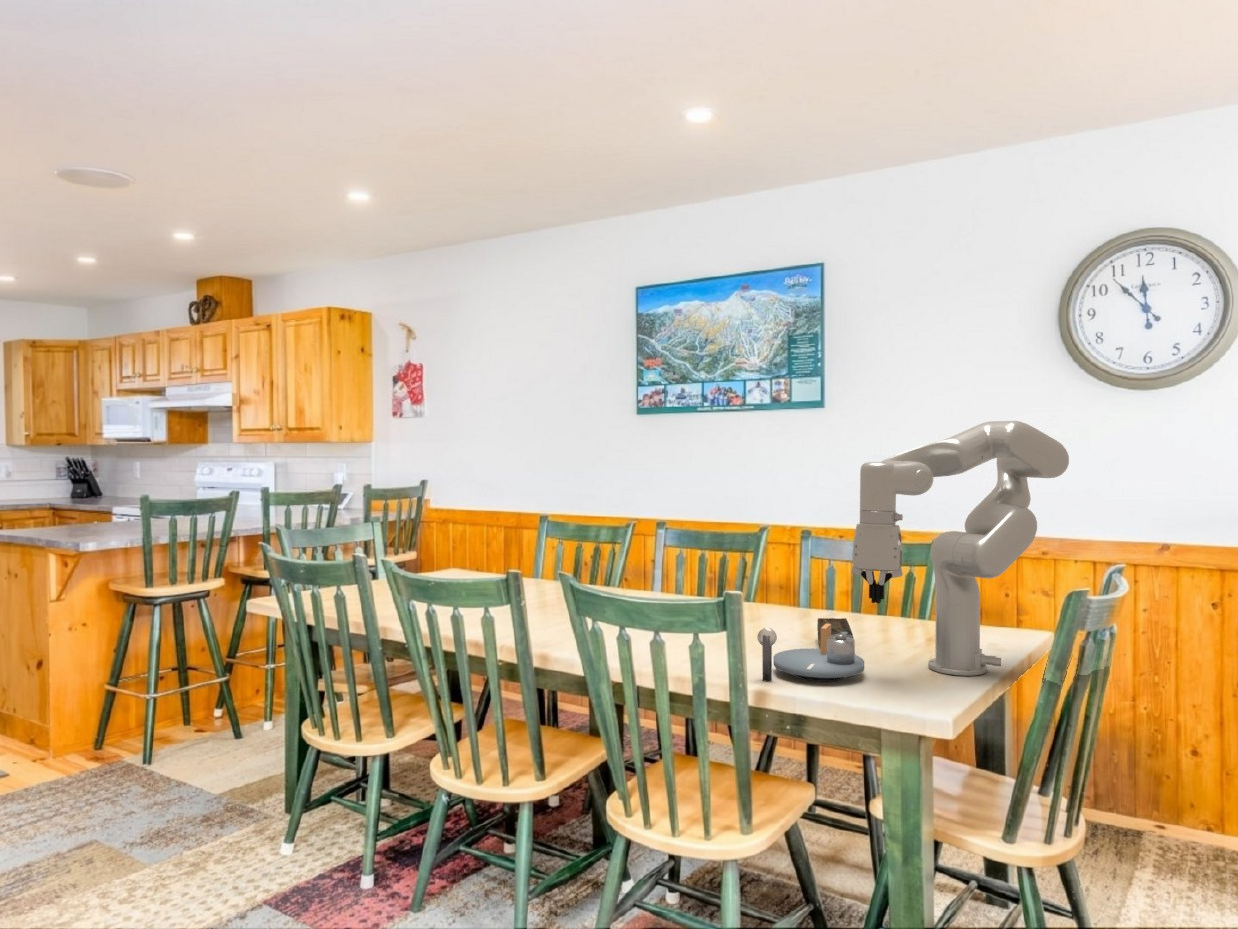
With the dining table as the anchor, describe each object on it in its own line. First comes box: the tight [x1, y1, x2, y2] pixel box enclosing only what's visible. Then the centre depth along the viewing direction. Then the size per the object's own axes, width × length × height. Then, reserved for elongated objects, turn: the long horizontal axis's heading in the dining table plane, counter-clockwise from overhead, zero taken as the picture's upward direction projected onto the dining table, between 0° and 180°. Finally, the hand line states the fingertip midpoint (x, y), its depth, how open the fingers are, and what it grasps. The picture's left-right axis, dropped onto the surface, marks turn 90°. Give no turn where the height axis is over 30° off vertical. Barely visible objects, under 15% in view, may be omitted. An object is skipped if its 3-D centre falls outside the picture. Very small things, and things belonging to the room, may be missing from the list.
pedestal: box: [792, 674, 845, 682], centre depth 195 cm, size 12×12×2 cm
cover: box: [827, 634, 856, 665], centre depth 193 cm, size 6×6×6 cm
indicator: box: [757, 627, 778, 682], centre depth 190 cm, size 4×2×12 cm, turn 64°
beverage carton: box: [816, 617, 855, 649], centre depth 219 cm, size 8×19×7 cm, turn 170°
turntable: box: [772, 624, 865, 678], centre depth 196 cm, size 20×20×8 cm
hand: (876, 602), depth 189 cm, fingers closed
